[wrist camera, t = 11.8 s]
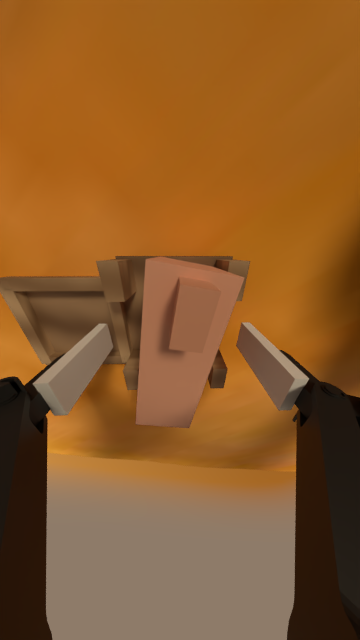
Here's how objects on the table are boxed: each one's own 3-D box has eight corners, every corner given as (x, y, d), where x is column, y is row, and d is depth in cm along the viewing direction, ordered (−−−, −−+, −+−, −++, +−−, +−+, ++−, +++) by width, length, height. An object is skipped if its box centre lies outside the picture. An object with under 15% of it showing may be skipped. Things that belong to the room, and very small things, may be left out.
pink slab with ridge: (160, 256, 13) (133, 261, 5) (212, 266, 13) (268, 286, 5) (149, 367, 19) (128, 453, 11) (184, 371, 19) (191, 456, 11)
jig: (6, 255, 13) (-69, 256, 9) (229, 256, 14) (250, 257, 10) (60, 364, 19) (30, 393, 15) (213, 361, 20) (223, 389, 16)
